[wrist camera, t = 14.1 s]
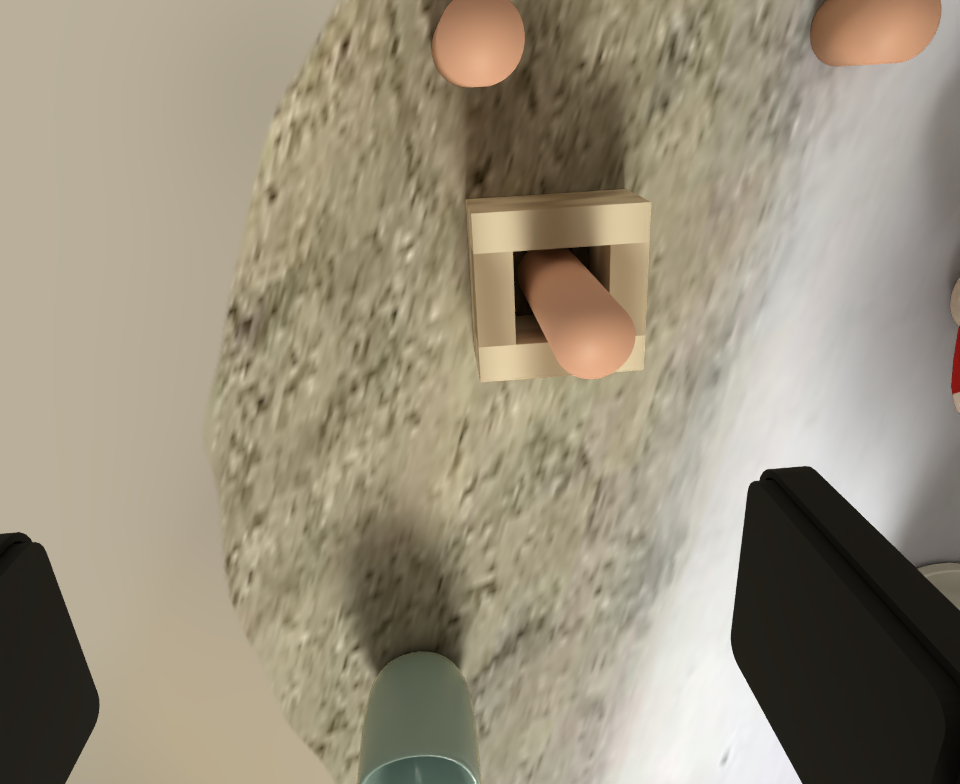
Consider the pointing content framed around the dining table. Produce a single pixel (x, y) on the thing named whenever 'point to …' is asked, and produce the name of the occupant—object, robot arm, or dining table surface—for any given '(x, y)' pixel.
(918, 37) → the short pin
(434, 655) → the cup
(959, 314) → the decorative mushroom
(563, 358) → the long pin
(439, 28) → the medium pin
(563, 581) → the dining table surface
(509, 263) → the bore block
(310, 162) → the dining table surface
